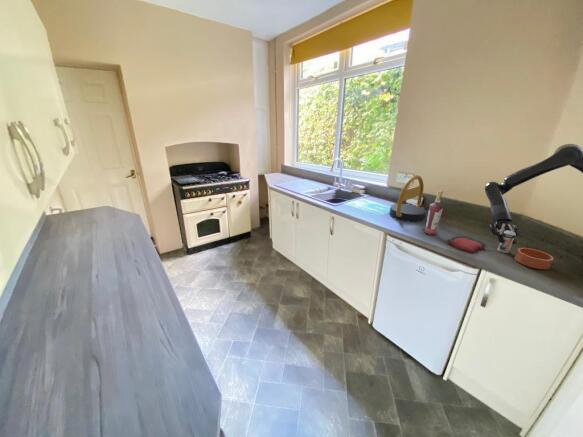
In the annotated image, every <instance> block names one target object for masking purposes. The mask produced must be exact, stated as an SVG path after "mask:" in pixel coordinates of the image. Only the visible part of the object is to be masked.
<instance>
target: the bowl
mask: <svg viewBox="0 0 583 437" xmlns="http://www.w3.org/2000/svg"><path fill="white" fill-rule="evenodd" d="M514 260H515V261H516V262H518V263H519V264H521V265H523V266H526V267H528V268H531V269H536V270H549V269H550V268H551V266H552V263H553V262H554V257H553V256H552V255H551V254H549V253H547V252H544V251H542V250H539V249H535V248H530V247H518V248H517V250H516V253H515V255H514Z"/></svg>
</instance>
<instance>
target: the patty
mask: <svg viewBox="0 0 583 437" xmlns="http://www.w3.org/2000/svg"><path fill="white" fill-rule="evenodd" d="M447 243H448V244H449V245H450V244H451V245H450V246H452V245H453V246H452V247H454V248H455V247H456V248H455V249H457V248H458V249H457V250H459V249H461V250H460V251H463V250H464V251H463V252H466V253H468V252H469V253H468V254H475V253H476V252H477V251H479V250H483V249H484V245H483V244H482V243H480V242H477V241H475V240H473V239H470V238H467V237H457V238H454V239H453V240H449V241H448V242H447Z"/></svg>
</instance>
